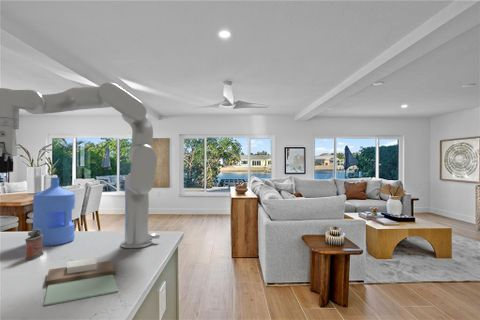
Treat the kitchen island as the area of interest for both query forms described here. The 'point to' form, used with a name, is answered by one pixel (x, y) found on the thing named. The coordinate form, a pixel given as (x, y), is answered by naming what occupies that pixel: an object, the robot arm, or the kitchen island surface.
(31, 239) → the lighter
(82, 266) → the tile
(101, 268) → the riser
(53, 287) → the mat
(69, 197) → the water jug
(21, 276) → the kitchen island surface
